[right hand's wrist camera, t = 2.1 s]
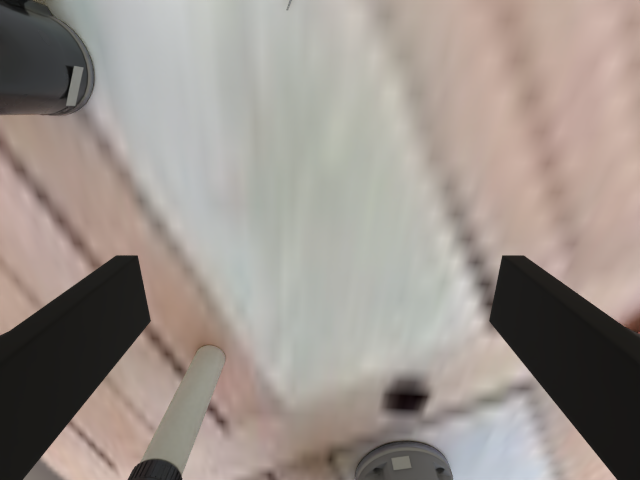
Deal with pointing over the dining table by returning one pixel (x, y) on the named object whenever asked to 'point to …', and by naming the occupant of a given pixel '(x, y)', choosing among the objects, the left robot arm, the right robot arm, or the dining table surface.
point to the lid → (155, 471)
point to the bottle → (187, 409)
